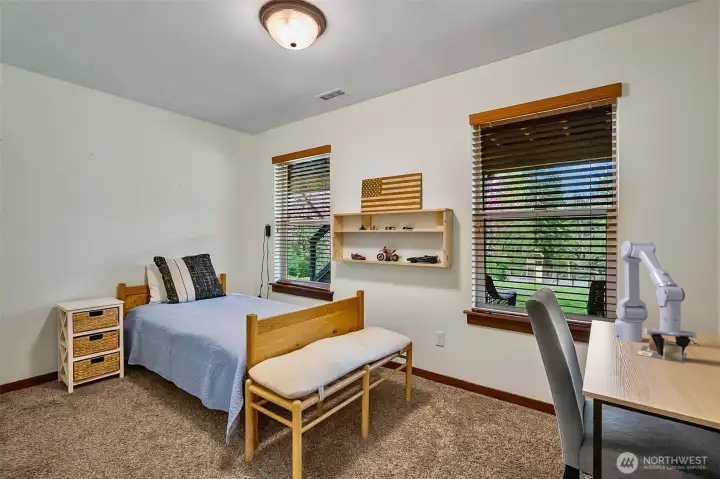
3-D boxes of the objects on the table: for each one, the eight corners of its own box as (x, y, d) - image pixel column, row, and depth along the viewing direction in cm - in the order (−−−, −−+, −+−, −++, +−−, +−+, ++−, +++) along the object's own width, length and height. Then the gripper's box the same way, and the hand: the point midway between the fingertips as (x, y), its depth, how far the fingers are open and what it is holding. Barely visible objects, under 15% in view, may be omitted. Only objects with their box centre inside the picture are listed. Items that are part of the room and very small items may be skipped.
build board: (636, 356, 130) (636, 354, 130) (643, 347, 141) (643, 345, 141) (683, 365, 121) (683, 363, 121) (687, 355, 132) (687, 353, 132)
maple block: (664, 359, 125) (664, 345, 125) (658, 355, 130) (658, 341, 130) (681, 361, 123) (682, 347, 123) (674, 356, 128) (674, 343, 128)
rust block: (649, 350, 135) (649, 337, 135) (651, 347, 139) (651, 335, 138) (666, 353, 131) (666, 340, 131) (667, 350, 135) (667, 338, 135)
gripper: (650, 319, 125) (650, 356, 125) (701, 322, 120) (701, 361, 120) (642, 315, 132) (642, 350, 132) (690, 318, 127) (690, 355, 127)
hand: (669, 355), depth 127 cm, fingers closed on maple block, 5 cm apart
